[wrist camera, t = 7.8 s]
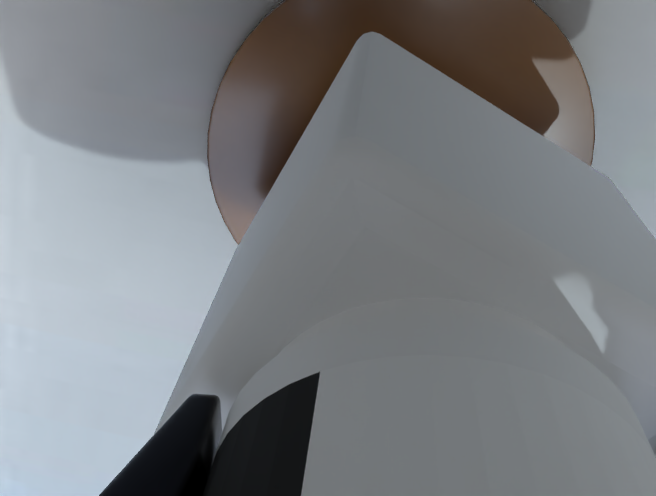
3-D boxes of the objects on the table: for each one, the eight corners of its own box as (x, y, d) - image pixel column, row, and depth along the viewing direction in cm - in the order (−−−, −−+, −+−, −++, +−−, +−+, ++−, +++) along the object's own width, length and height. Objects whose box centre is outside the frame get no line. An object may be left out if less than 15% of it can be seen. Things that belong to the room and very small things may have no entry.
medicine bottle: (443, 360, 18) (508, 989, 8) (233, 251, 16) (-29, 836, 6) (615, 178, 14) (1170, 899, 4) (366, 21, 13) (262, 502, 3)
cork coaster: (155, 9, 15) (150, 11, 15) (597, -89, 14) (603, -89, 13) (264, 332, 21) (262, 340, 20) (585, 287, 19) (589, 295, 19)
